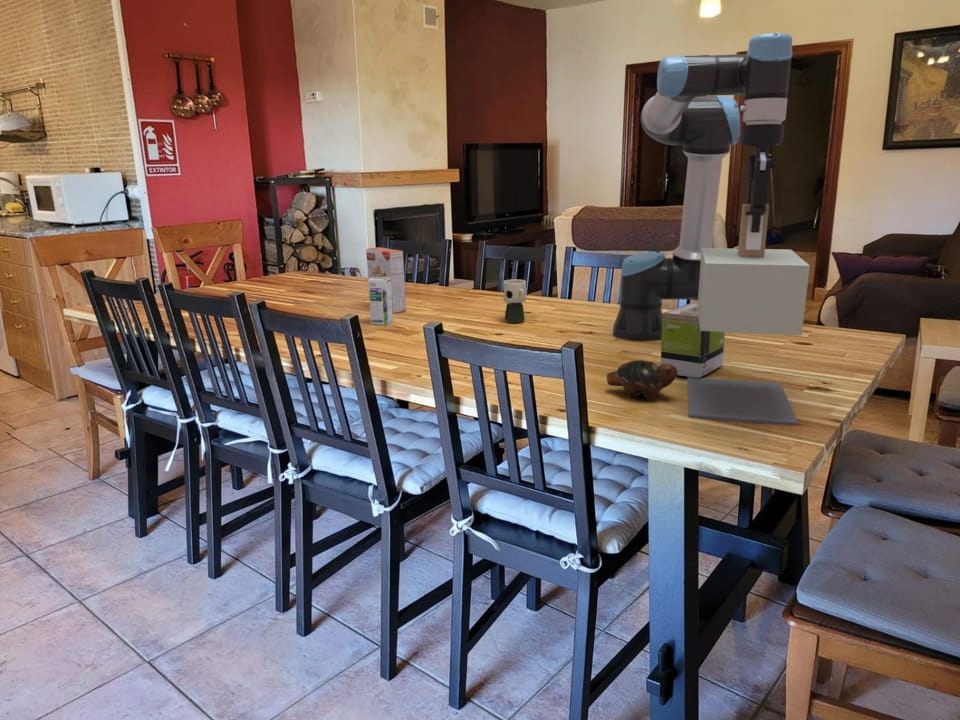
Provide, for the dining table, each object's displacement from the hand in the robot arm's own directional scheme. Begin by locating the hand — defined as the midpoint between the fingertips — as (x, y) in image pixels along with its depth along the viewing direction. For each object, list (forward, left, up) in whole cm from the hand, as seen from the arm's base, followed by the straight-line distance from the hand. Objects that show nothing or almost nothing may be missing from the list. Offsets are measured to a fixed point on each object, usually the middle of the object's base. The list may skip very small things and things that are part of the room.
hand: (751, 247), depth 138 cm
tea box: (-20, -9, -32) cm, 39 cm away
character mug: (-62, -62, -32) cm, 93 cm away
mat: (0, 0, -32) cm, 32 cm away
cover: (0, 0, -15) cm, 15 cm away
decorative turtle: (+1, -20, -32) cm, 38 cm away
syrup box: (-52, -103, -32) cm, 120 cm away
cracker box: (-71, -109, -32) cm, 134 cm away
